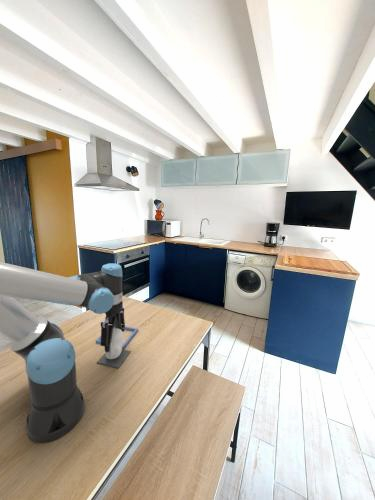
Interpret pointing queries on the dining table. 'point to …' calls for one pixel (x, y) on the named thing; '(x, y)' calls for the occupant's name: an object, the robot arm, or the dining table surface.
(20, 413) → the dining table surface
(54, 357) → the robot arm
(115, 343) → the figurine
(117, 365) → the mat
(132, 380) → the dining table surface
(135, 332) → the cradle
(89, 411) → the dining table surface
